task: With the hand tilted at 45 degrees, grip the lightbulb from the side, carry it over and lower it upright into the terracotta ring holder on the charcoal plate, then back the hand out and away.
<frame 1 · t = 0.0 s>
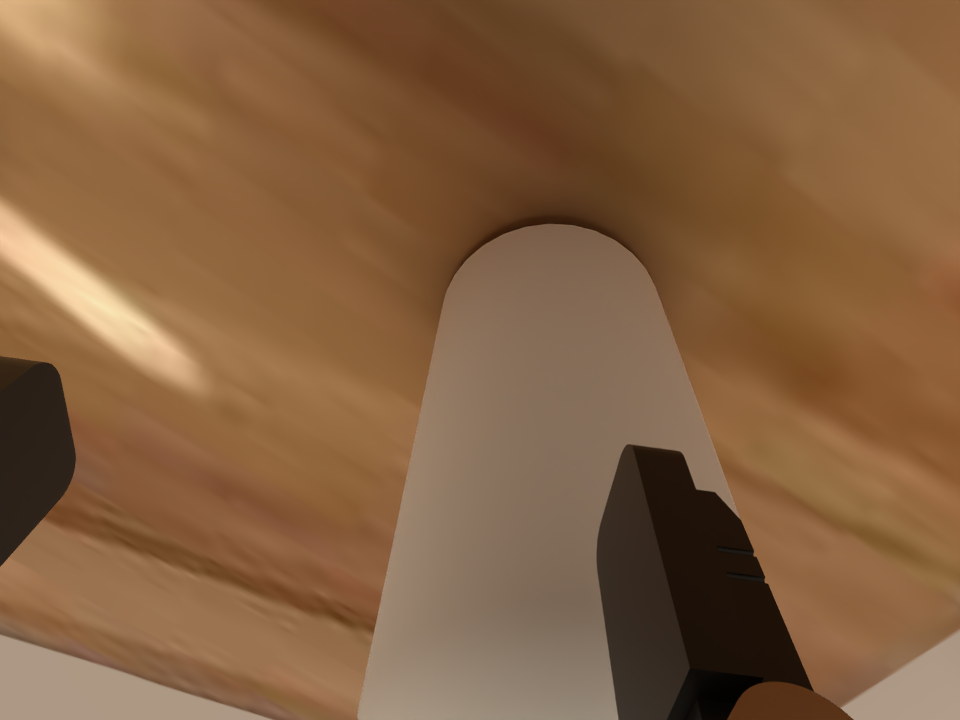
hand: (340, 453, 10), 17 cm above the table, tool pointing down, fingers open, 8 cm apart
alcohol: (548, 313, 28), on the table
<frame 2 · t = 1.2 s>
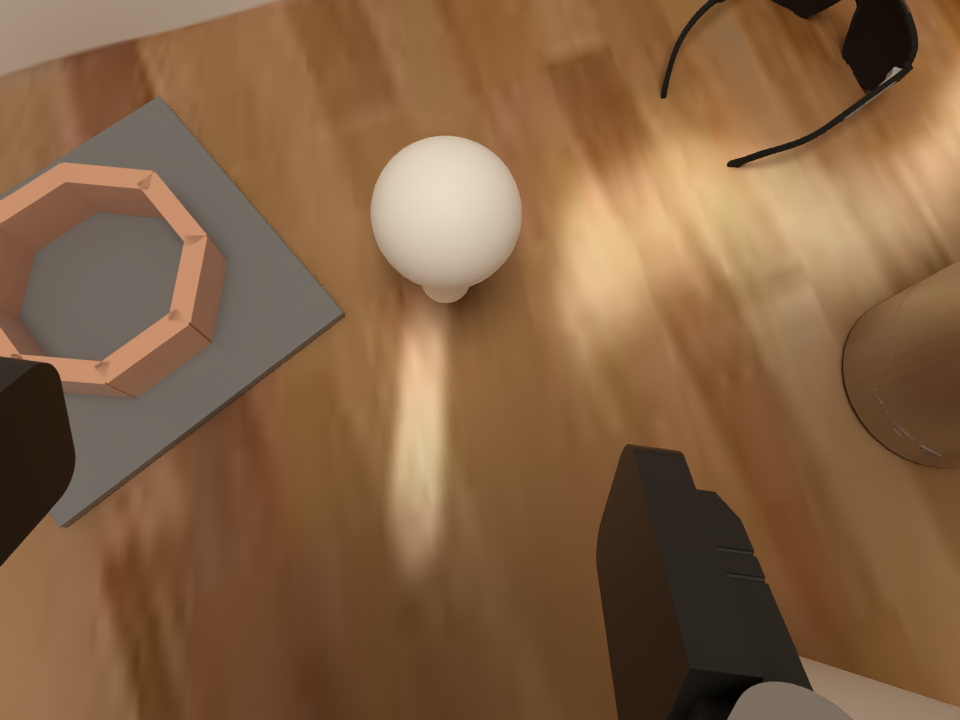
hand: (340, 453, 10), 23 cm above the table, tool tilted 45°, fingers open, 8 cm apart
lightbulb: (445, 287, 35), on the table
ring holder: (119, 296, 34), on the table
sunglasses: (760, 85, 40), on the table
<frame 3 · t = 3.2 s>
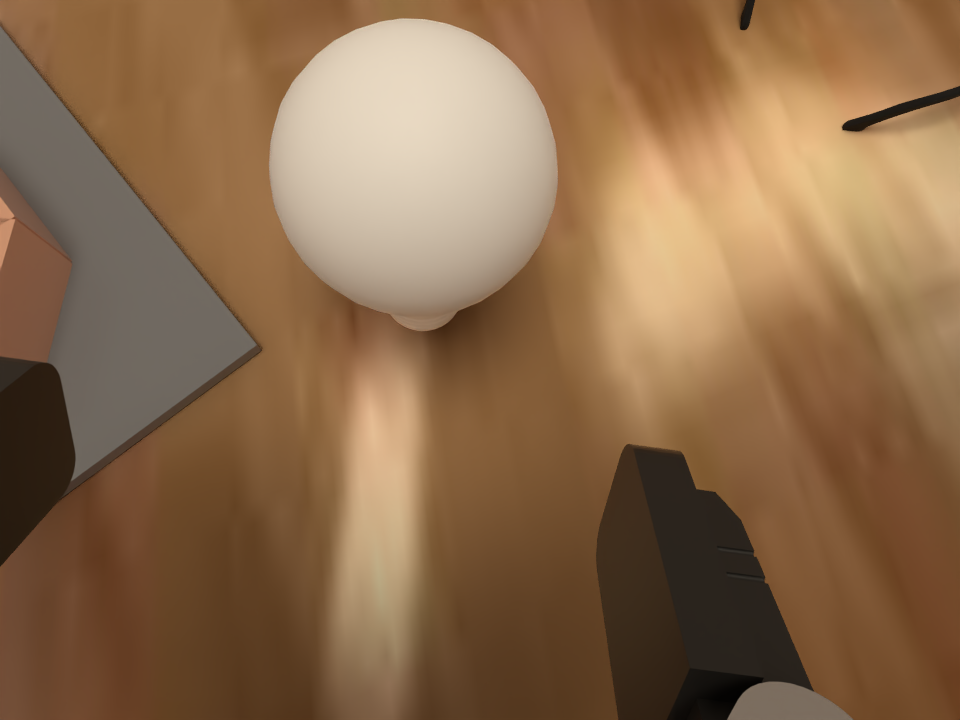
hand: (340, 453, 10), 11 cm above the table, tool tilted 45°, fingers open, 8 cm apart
lightbulb: (423, 304, 22), on the table
sunglasses: (881, 15, 27), on the table
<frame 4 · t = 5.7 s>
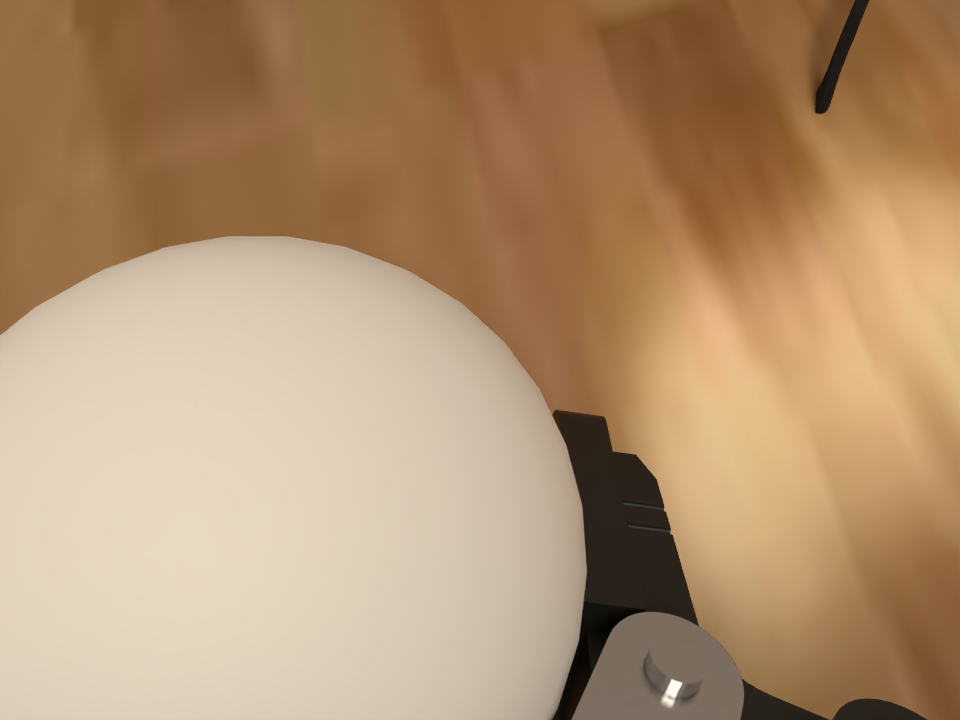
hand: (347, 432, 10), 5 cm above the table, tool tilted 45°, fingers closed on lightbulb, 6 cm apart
lightbulb: (362, 547, 15), on the table, touching gripper
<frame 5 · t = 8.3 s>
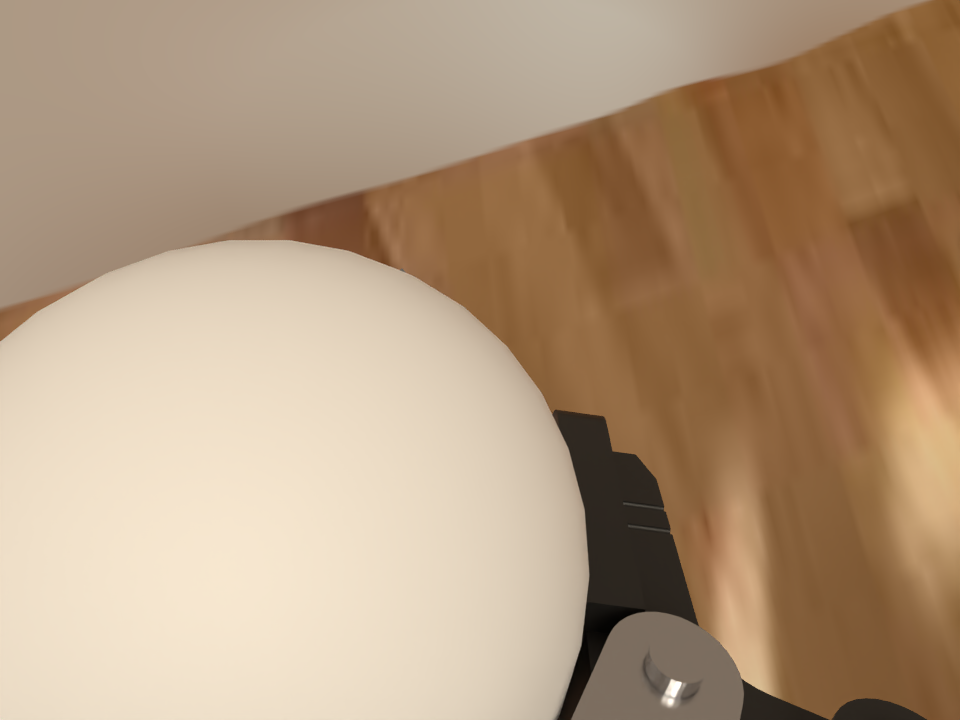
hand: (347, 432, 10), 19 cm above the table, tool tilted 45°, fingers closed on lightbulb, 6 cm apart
lightbulb: (363, 549, 15), point 14 cm above the table, touching gripper
when the fingers open (7 cm above the table, at t = 11.2 s): lightbulb drops 1 cm, resting on ring holder.
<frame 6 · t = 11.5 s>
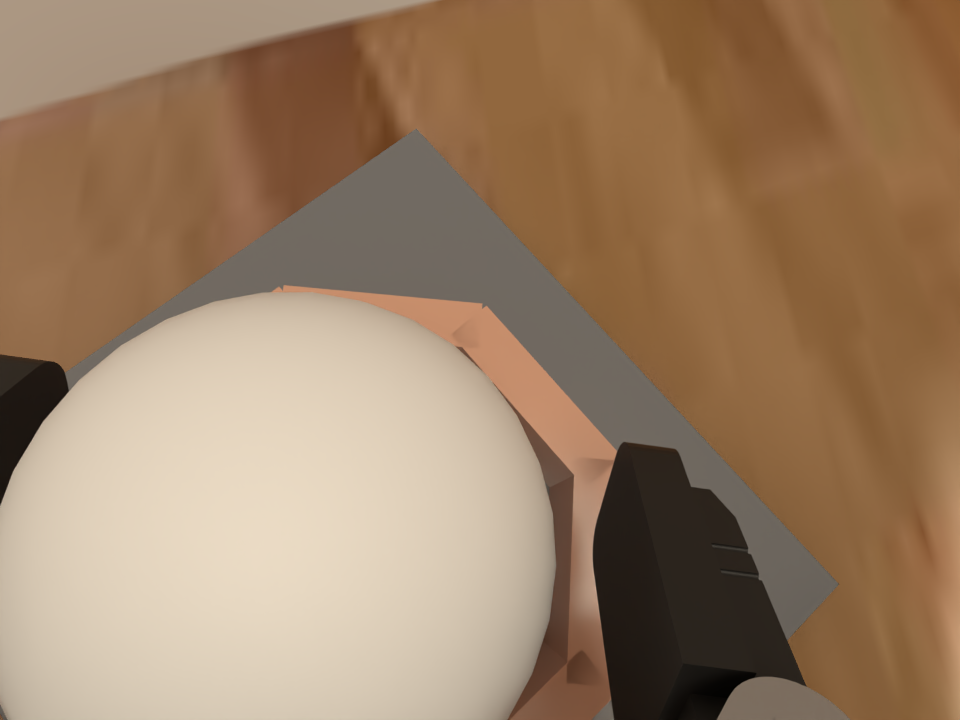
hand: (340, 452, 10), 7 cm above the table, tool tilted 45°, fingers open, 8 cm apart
lightbulb: (367, 561, 16), resting on ring holder
ring holder: (370, 548, 16), on the table
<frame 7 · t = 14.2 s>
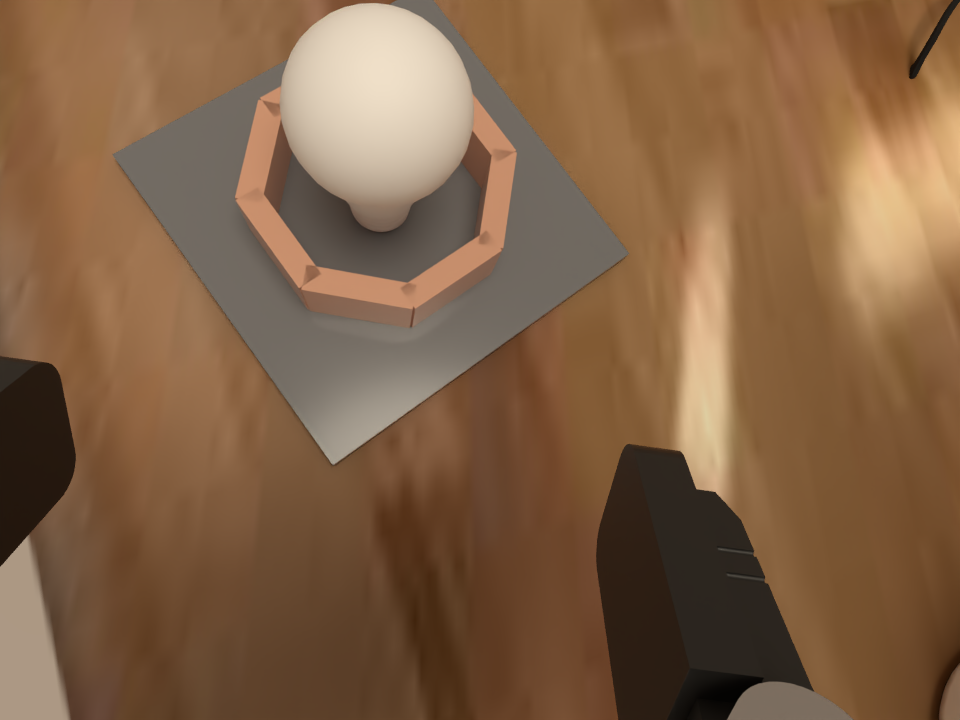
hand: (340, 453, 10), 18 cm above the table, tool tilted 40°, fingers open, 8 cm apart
lightbulb: (380, 214, 29), resting on ring holder
ring holder: (381, 211, 30), on the table
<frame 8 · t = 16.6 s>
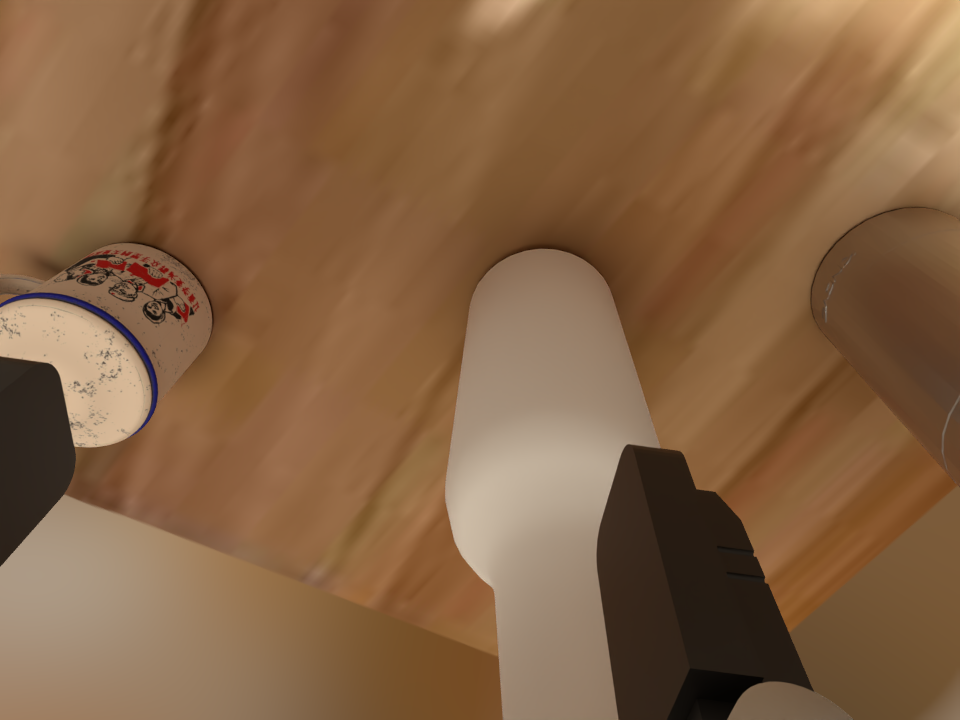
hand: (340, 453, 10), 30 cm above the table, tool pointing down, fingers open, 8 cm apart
alcohol: (540, 310, 42), on the table
teacup with lid: (125, 294, 42), on the table
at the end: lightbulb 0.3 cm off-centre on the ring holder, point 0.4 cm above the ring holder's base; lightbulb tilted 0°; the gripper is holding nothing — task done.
